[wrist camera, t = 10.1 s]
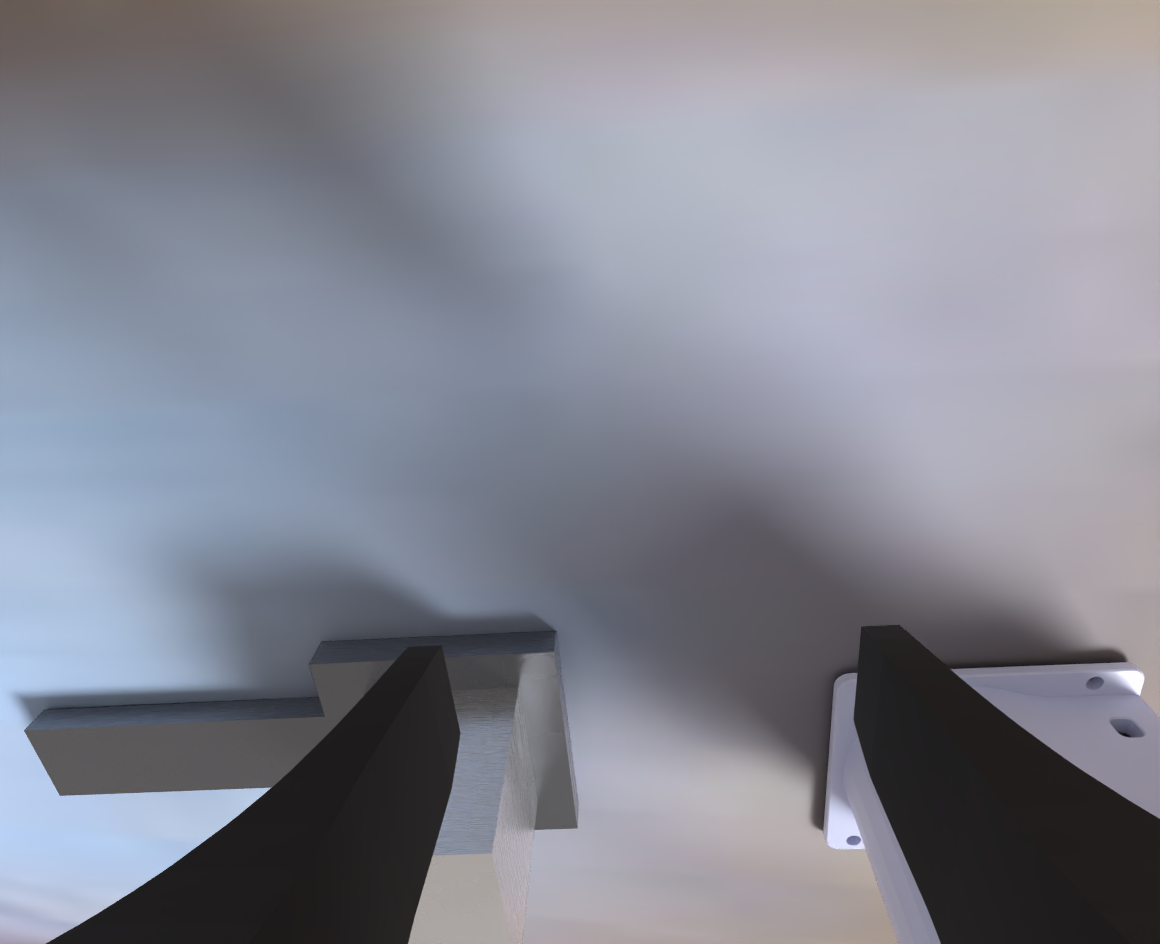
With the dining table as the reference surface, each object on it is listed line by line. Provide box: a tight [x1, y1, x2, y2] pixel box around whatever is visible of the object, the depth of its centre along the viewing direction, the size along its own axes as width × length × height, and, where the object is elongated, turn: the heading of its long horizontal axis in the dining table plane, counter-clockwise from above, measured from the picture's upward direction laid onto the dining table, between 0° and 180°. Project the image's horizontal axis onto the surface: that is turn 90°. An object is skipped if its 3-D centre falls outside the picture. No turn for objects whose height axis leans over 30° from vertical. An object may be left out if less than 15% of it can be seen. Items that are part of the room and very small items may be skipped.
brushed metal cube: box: [362, 687, 537, 944], centre depth 22 cm, size 5×5×6 cm
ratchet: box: [24, 631, 579, 830], centre depth 24 cm, size 19×8×4 cm, turn 95°
